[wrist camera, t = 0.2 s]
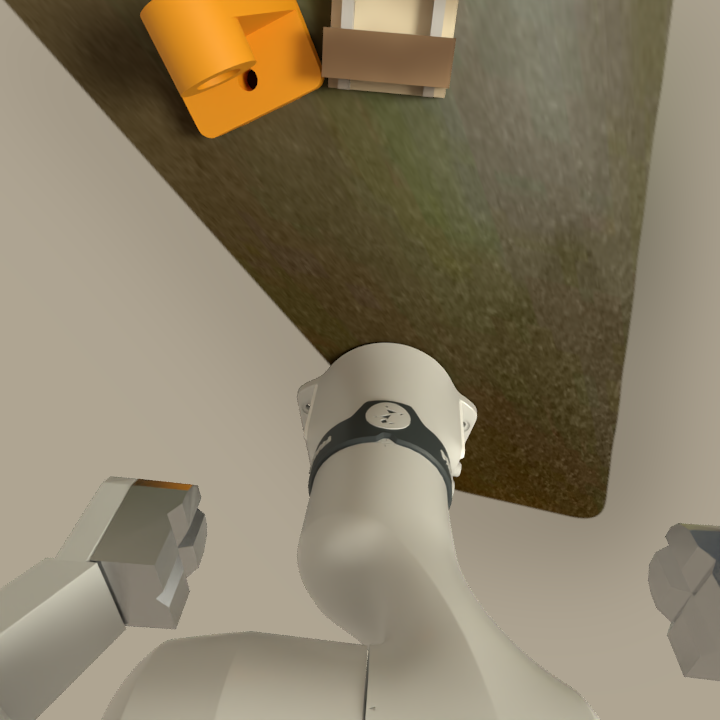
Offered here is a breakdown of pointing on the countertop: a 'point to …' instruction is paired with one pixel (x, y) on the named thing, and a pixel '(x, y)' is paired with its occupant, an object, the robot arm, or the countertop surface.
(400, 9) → the rail board
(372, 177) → the countertop surface
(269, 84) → the bracket
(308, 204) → the countertop surface
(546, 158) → the countertop surface
